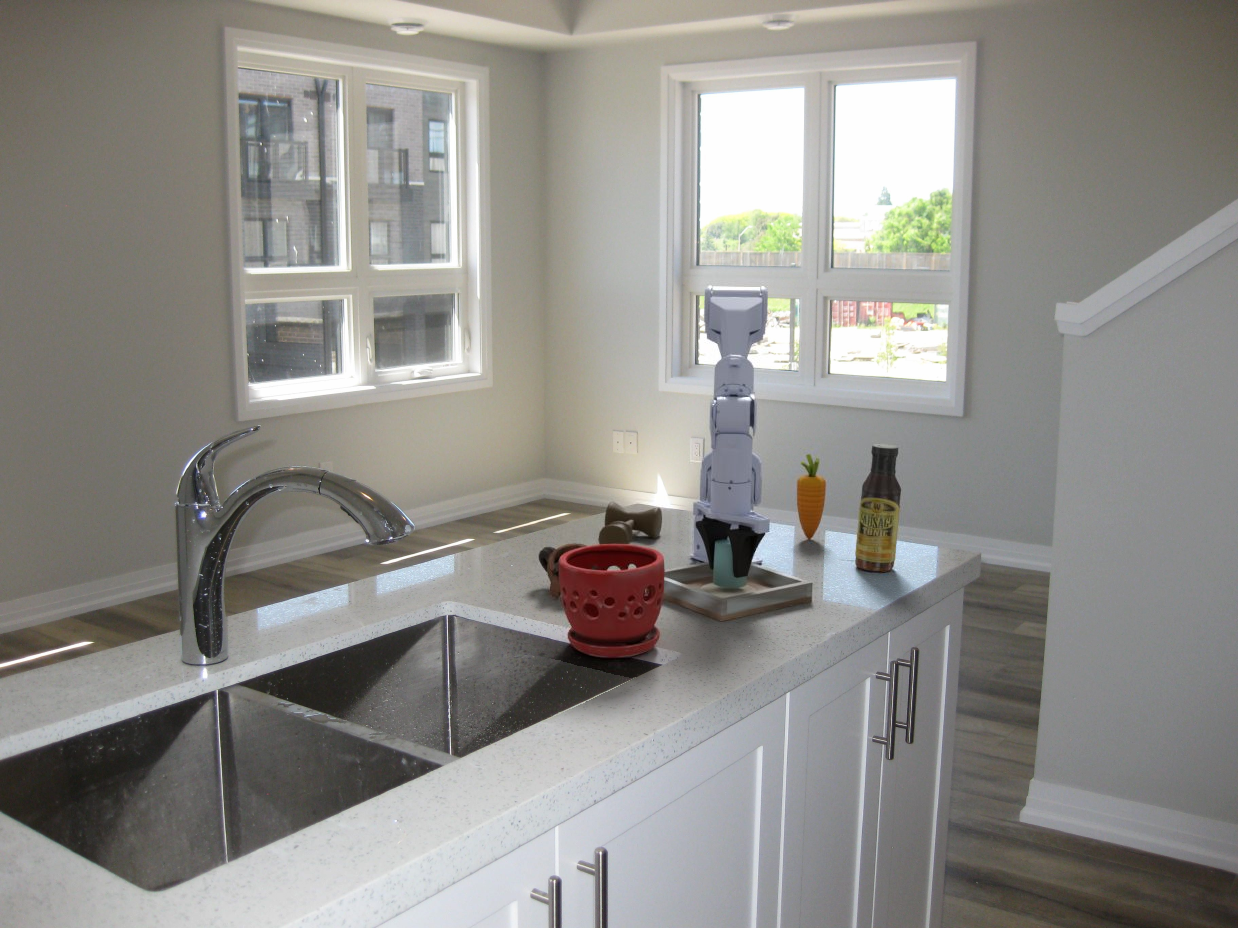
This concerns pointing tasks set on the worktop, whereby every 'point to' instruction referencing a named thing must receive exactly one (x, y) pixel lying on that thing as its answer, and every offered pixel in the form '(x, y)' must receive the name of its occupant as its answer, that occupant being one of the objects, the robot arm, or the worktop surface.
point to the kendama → (629, 524)
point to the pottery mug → (556, 565)
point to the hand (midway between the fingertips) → (728, 572)
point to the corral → (734, 591)
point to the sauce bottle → (879, 512)
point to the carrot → (810, 498)
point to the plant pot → (612, 598)
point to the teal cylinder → (725, 566)
